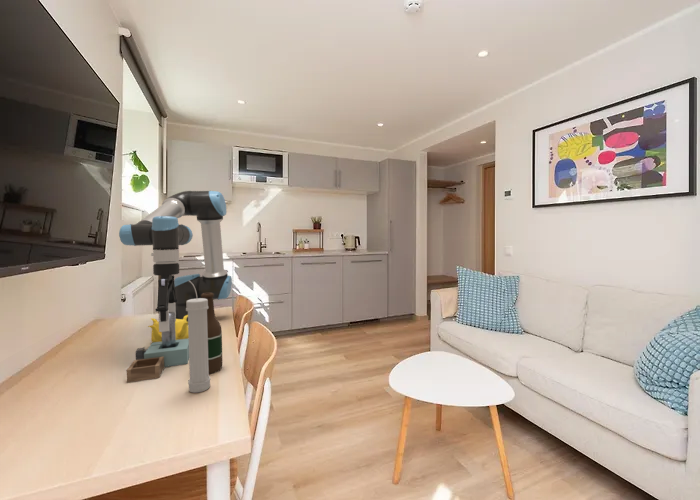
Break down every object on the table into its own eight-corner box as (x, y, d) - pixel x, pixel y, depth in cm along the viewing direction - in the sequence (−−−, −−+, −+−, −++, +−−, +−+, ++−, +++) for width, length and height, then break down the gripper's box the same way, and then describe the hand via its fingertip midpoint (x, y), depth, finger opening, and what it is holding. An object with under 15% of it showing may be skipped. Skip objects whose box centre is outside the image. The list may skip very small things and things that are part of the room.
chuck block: (152, 356, 110) (152, 342, 110) (191, 351, 114) (190, 338, 114) (144, 369, 99) (143, 354, 98) (187, 363, 103) (186, 348, 103)
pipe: (214, 384, 88) (211, 277, 87) (202, 395, 82) (198, 280, 81) (196, 383, 89) (192, 277, 88) (181, 394, 82) (178, 280, 81)
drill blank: (163, 359, 107) (162, 312, 107) (177, 357, 109) (175, 311, 108) (161, 363, 103) (159, 315, 103) (175, 361, 105) (173, 314, 104)
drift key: (138, 358, 108) (137, 348, 108) (171, 354, 111) (170, 344, 111) (135, 361, 105) (135, 350, 105) (169, 356, 109) (169, 346, 109)
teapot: (151, 339, 130) (150, 315, 129) (189, 334, 136) (189, 311, 136) (147, 350, 117) (147, 324, 116) (190, 343, 123) (189, 319, 123)
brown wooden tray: (134, 371, 97) (134, 360, 97) (164, 367, 100) (163, 356, 100) (126, 382, 90) (126, 370, 90) (159, 377, 93) (158, 365, 92)
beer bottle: (197, 377, 93) (195, 296, 92) (193, 368, 99) (191, 292, 98) (225, 371, 97) (223, 293, 96) (220, 362, 103) (218, 290, 103)
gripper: (160, 261, 115) (162, 319, 116) (144, 265, 92) (146, 337, 92) (183, 260, 118) (185, 317, 118) (173, 264, 95) (174, 334, 95)
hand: (168, 326), depth 105 cm, fingers open, 13 cm apart
